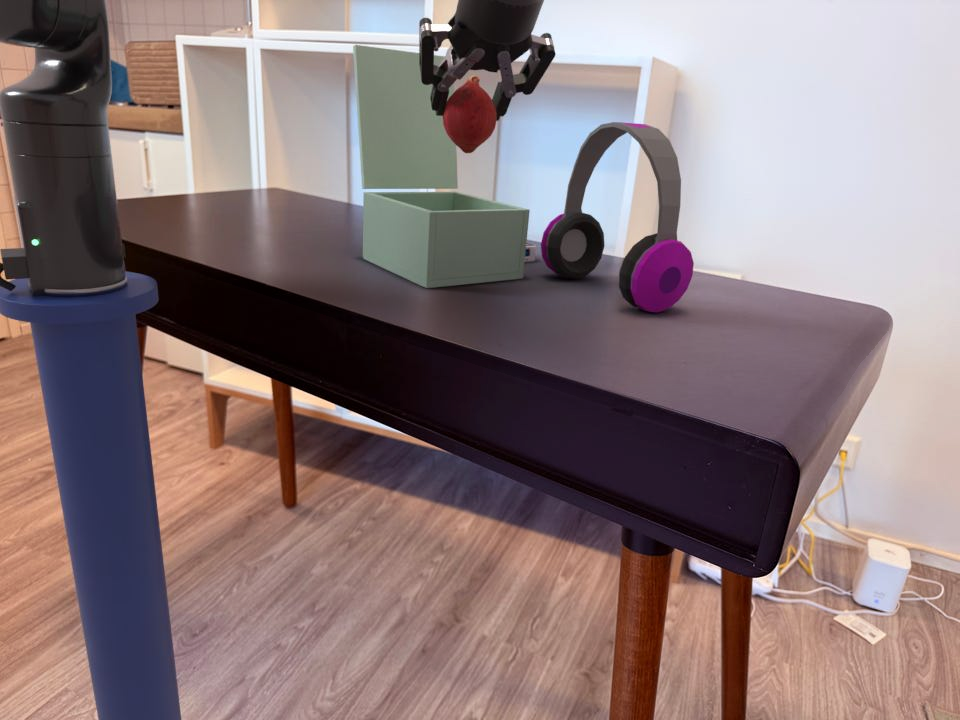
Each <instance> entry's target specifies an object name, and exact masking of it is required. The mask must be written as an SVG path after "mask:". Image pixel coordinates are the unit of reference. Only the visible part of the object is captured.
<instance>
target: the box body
mask: <svg viewBox="0 0 960 720" xmlns="http://www.w3.org/2000/svg"><path fill="white" fill-rule="evenodd" d="M362 194H363V195H362V196H363V197H362V198H363V199H362V201H363V204H362V205H363V209H362V259H363V260H365V261H367V262H369V263H372V264H374V265H375V266H378V267H379V268H382V269H384V270H386V271H388V272H390V273H393V274H395V275H397V276H399V277H401V278H404V279H405V280H407V281H410V282H412V283H413V284H416V285H419V286H421V287H423V288H425V289H433V288H434V289H435V288H442V287H452V286H453V287H454V286H462V285H472V284H473V285H474V284H481V283H482V284H483V283H493V282H502V281H512V280H521V279H522V280H523V279H524V274H525V272H524V271H525V263H526V262H525V253H526V243H528V242H527V241H528V231H529V221H530V212H531V211H530V209H529V208H524V207H521V206H516V205H512V204H507V203H504V202H499V201H496V200H491V199H488V198H484V197H480V196H475V195H471V194H467V193H463V192H459V191H377V192H376V191H373V192H371V191H368V192H367V191H364V192H363V193H362Z"/></svg>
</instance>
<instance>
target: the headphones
mask: <svg viewBox="0 0 960 720" xmlns="http://www.w3.org/2000/svg"><path fill="white" fill-rule="evenodd" d="M625 134H629V136H631V138H633V139H634V140H635V141H636V142H637V143H638V144H639V146H640V147H641V149H642V150H643V153H644V154H645V155H646V158H647V159H648V161H649V164H650V166H651V169H652V171H653V172H652V173H653V174H654V177H655V179H656V183H657V185H656V186H657V198H658V217H657V232H656V233H653V234H649V235H645V236H644V237H643V238H642V239H640V240H639V241H637V242H636V243H635V244H633V246H632V247H631V248H630V249H629V251H628V252H627V254H626V255H625V256H624V258H623V261H622V264H621V266H620V269H619V272H618V273H619V275H618V276H619V277H618V278H619V279H618V287H619V291H620V293H621V296H622V298H623V299H624V301H626V302H627V303H628V304H630V305H631V306H632V307H635V308H640V309H641V311H644V312H651V313H660V312H663V311H666V310H669V309H670V308H671V307H673V306H674V305H675V304H677V303H678V302H679V301H680V300H681V298H682V297H683V296H684V294H685V293H686V292H687V291H688V288H689V286H690V284H691V282H692V279H693V274H694V265H695V263H694V259H693V255H692V251H691V250H690V249H689V248H688V247H687V246H686V245H685V244H684V243H683V241H680V240H678V228H679V227H678V226H679V219H680V212H681V211H680V210H681V200H682V199H681V197H682V196H681V194H682V177H681V171H680V166H679V165H680V164H679V160H678V156H677V153H676V151H675V149H674V147H673V145H672V142H671V141H670V139H669V138H668V137H667V136H666V135H665V134H664V133H663V131H661V130H660V128H659V127H655V126H651V125H649V124H646V123H633V122H623V121H622V122H619V121H612V122H608V123H607V122H606V123H602V124H600V125H598V126H597V127H596V128H594V129H593V130H592V131H591V132H589V134H588V135H587V137H586V138H585V140H584V142H583V143H582V145H581V146H580V148H579V150H578V153H577V157H576V159H575V162H574V165H573V168H572V171H571V174H570V177H569V181H568V184H567V190H566V197H565V203H564V209H563V213H561V214H559V215H557V216H555V217H554V218H553V219H552V220H551V221H549V223H548V224H547V226H546V228H545V229H544V231H543V233H542V238H541V242H540V251H541V258H542V260H543V262H544V263H545V266H546V267H547V268H548V269H549V270H550V271H551V272H553V273H554V274H555V275H559V276H560V277H562V278H565V279H570V280H578V279H583V278H584V277H587V276H588V275H589V274H591V273H592V272H593V271H594V270H595V269H596V268H597V266H598V264H599V263H600V262H601V260H602V259H603V258H602V257H603V253H604V249H605V232H604V230H603V228H602V226H601V223H600V222H599V221H598V220H597V219H596V218H595V217H594V216H593V215H592V214H590V213H585V212H583V210H582V207H583V202H584V199H585V193H586V189H587V185H588V184H589V181H590V179H591V177H592V174H593V172H594V170H595V168H596V167H597V165H598V163H599V162H600V161H601V159H602V157H603V156H604V154H605V153H606V151H607V150H608V149H609V148H610V147H611V146H612V145H613V144H614V143H615V142H616V141H617V139H619V138H620V137H623V136H624V135H625Z"/></svg>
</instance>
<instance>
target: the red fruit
mask: <svg viewBox="0 0 960 720" xmlns="http://www.w3.org/2000/svg"><path fill="white" fill-rule="evenodd" d="M480 80H481V79H480V78H479V77H478V76H477V75H471V76H469V77H468V78H467V80H466V81H465V83H464V84H462V85H461V86H459V87H458V88H457V89H455V90H454V93H453V94H452V95H451V96H450V97H449V99H448V101H447V103H446V106H445V110H444V113H443V125H444V128H445V130H446V133H447V135H448V136H449V138H450V139H451V140H452V141H453V142H454V143H455V144H456V147H457V148H459V149H460V150H461V151H462V152H463V153H465V154H472V153H474V152H475V151H476V150H477V149H478V148H479V147H480V146H481V145H482V144H484V143H485V142H486V141H487V140H489V138H490V137H492V135H493V133H494V131H495V129H496V125H497V122H498V121H497V113H496V108H495V105H494V103H493V101H492V99H493V98H491V96H490V95H489V94H488V92H487V91H486V90H485V89H484V88H482V86H480Z"/></svg>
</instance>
